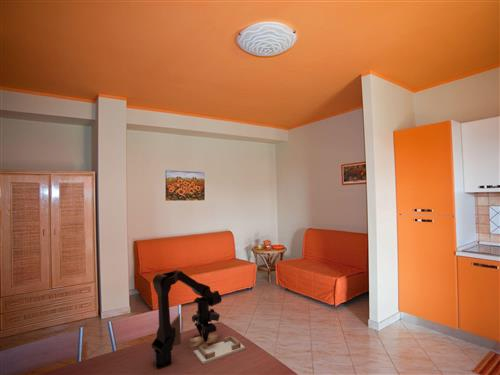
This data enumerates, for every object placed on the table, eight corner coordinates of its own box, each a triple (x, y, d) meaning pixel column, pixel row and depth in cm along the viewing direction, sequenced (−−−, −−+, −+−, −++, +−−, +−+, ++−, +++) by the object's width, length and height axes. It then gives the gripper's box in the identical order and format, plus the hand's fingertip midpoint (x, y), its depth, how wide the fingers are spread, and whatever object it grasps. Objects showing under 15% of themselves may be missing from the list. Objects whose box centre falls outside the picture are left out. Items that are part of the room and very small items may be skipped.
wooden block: (179, 344, 149) (179, 308, 150) (158, 345, 148) (157, 310, 149) (180, 340, 153) (179, 305, 153) (159, 342, 152) (158, 307, 152)
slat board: (202, 364, 131) (202, 357, 131) (193, 352, 141) (193, 346, 141) (244, 349, 143) (244, 342, 143) (234, 339, 152) (234, 333, 152)
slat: (191, 347, 146) (191, 341, 146) (189, 344, 149) (189, 338, 149) (218, 341, 152) (218, 335, 152) (216, 338, 155) (216, 332, 155)
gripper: (225, 311, 147) (226, 342, 147) (210, 300, 163) (211, 328, 163) (204, 317, 141) (205, 349, 141) (191, 304, 157) (191, 334, 157)
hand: (204, 339), depth 150 cm, fingers open, 4 cm apart
